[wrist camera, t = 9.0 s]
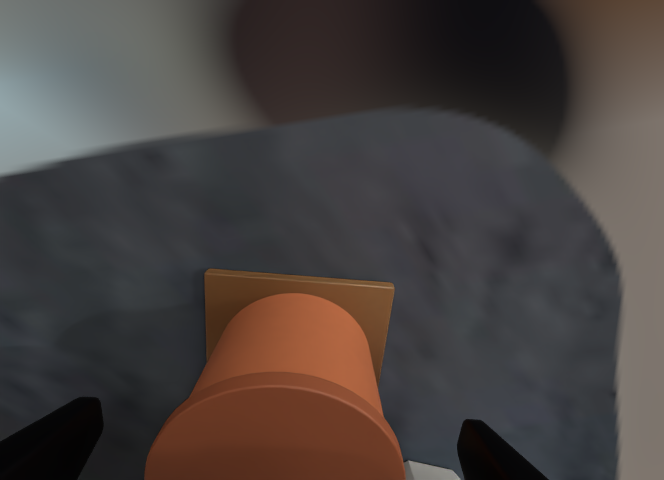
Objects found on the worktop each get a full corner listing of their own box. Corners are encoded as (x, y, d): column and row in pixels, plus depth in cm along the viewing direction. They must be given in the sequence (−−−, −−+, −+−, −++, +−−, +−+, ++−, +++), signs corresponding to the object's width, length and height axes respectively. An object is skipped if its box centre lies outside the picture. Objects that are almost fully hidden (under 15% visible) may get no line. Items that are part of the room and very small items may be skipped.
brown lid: (365, 428, 11) (386, 579, 7) (213, 420, 11) (153, 571, 7) (387, 293, 10) (428, 395, 6) (210, 279, 9) (131, 377, 6)
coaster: (369, 423, 12) (370, 433, 11) (211, 414, 11) (207, 424, 11) (392, 281, 10) (395, 287, 10) (208, 268, 10) (203, 272, 9)
